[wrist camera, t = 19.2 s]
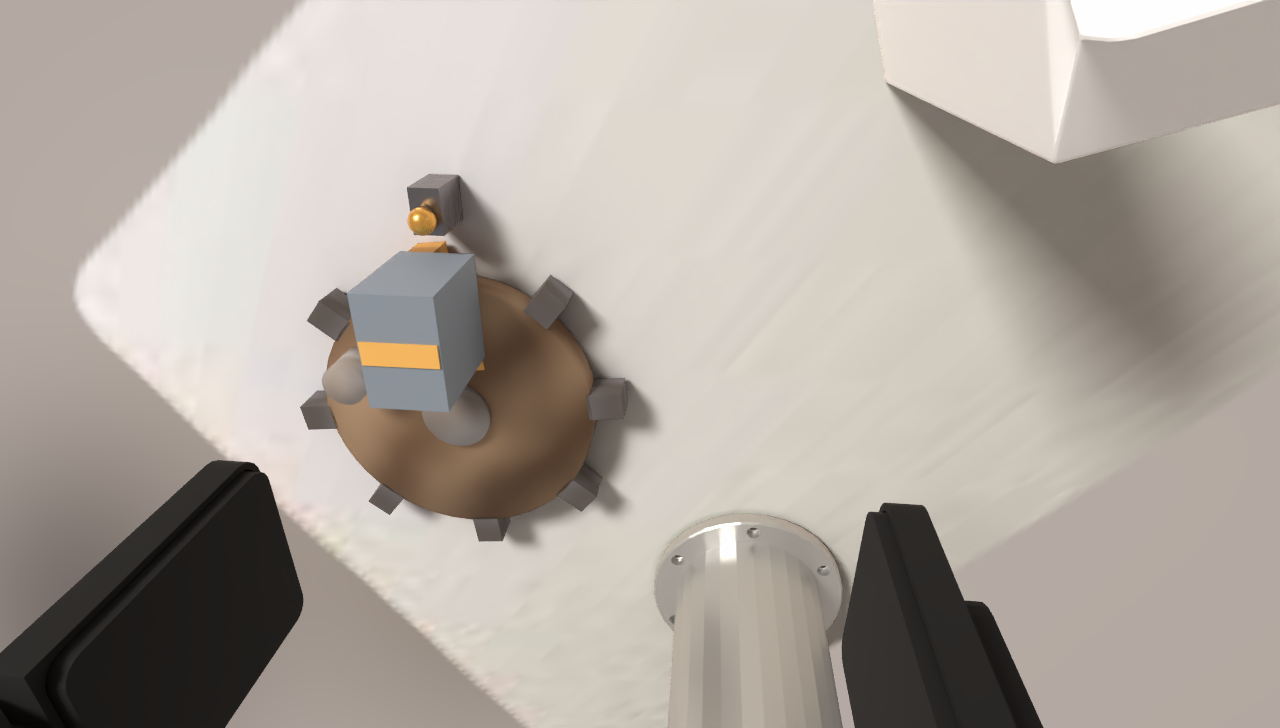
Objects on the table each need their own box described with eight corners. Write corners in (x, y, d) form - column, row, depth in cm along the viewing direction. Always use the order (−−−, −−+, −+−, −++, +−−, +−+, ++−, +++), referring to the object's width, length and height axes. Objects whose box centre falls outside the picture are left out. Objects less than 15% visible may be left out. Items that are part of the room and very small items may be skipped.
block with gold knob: (463, 219, 38) (435, 243, 34) (434, 218, 38) (404, 242, 35) (458, 175, 37) (428, 195, 33) (428, 174, 37) (396, 194, 33)
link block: (485, 356, 39) (448, 413, 34) (416, 353, 40) (368, 408, 34) (473, 254, 37) (432, 298, 31) (399, 251, 37) (345, 294, 31)
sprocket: (694, 386, 41) (691, 428, 37) (509, 566, 49) (491, 616, 45) (413, 167, 37) (377, 188, 33) (262, 404, 45) (217, 443, 41)
